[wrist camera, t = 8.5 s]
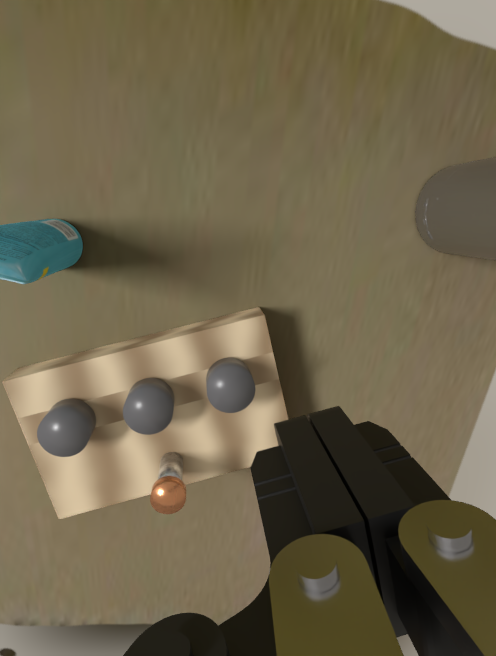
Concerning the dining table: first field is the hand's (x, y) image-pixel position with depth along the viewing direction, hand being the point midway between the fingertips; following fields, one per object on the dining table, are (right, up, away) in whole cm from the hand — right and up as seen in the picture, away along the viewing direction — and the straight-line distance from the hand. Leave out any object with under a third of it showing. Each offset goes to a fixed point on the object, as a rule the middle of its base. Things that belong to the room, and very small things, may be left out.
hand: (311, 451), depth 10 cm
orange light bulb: (-9, -11, +36) cm, 39 cm away
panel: (-11, -6, +39) cm, 40 cm away
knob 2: (-4, -2, +38) cm, 38 cm away
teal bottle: (-20, +11, +33) cm, 41 cm away
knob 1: (-19, -5, +37) cm, 42 cm away
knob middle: (-11, -3, +37) cm, 39 cm away
